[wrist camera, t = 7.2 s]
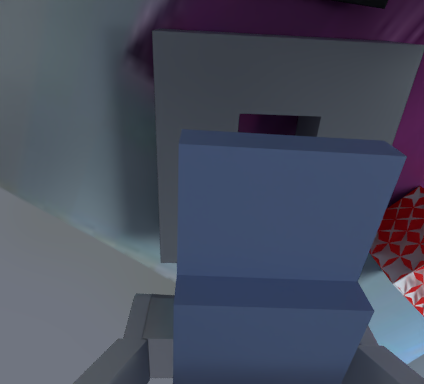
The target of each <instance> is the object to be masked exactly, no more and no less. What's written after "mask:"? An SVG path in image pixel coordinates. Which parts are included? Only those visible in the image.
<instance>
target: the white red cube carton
mask: <svg viewBox="0 0 424 384" xmlns="http://www.w3.org/2000/svg"><path fill="white" fill-rule="evenodd" d="M369 253H370V254H371V255H372V257H373V258H374V259H375V261H376V262H377V264H378V265H379V266H380V268H381V269H382V270H383V272H384V273H385V274H386V276H387V277H388V278H389V280H390V281H391V282H392V284H393V285H394V286H395V287H396V288H397V289H398V290H399V291H400V292H401V293H402V294H403V295H404V296H405V297H406V298H407V300H408V301H409V302H410V303H411V304H412V305H413V306H414V307H415V308H416V309H417V310H418V311H419V312H420V313H421V314H422V315H423V316H424V188H422V187H421V186H419V187H417V188H416V189H414V190H413V191H412V192H410V193H409V194H407V195H406V196H404V197H403V198H402V199H400V200H399V201H397V202H396V203H394V204H393V205H391V206H390V207H389V208H387V209H386V211H385V213H384V216H383V218H382V221H381V223H380V226H379V228H378V231H377V234H376V236H375V239H374V241H373V244H372V246H371V249H370V251H369Z"/></svg>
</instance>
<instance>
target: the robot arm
mask: <svg viewBox="0 0 424 384" xmlns="http://www.w3.org/2000/svg"><path fill="white" fill-rule="evenodd" d="M174 297H175V295H158V294H136V295H135V296H134V299H133V303H132V307H131V310H130V315H129V318H128V322H127V326H126V330H125V334H124V337H123V339H118V340H116V342H115V343H113V344H112V345H111V346H110V347H109V348H108V349H107V351H106V352H104V353H103V354H102V355H101V357H99V359H97V360H96V361H95V362H94V363H93V364H92V365H91V366H90V367H89V368H88V369H87V370H86V371H85V372H84V373H83V374H82V375H81V376H80V377H79V378H78V379H77V380H76V381H75V382H74V383H73V384H147V383H148V382H149V380H150V378H173V319H174ZM341 384H424V378H423V377H421V376H420V375H419V374H418V373H416V372H415V371H414V370H412V369H411V368H410V367H409V366H408V365H406V364H405V363H404V362H403V361H402V360H400V359H399V358H398V357H397V356H395V355H394V354H393V353H392V352H390V351H389V350H388V349H387V348H385V347H384V346H379V345H378V343H377V341H376V339H375V338H374V336H373V334H372V332H371V330H370V328H369V326H367V328H366V330H365V333H364V335H363V337H362V339H361V341H360V343H359V346H358V348H357V350H356V352H355V354H354V357H353V359H352V361H351V363H350V365H349V367H348V370H347V372H346V374H345V376H344V378H343V381H342V383H341Z"/></svg>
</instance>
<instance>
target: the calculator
mask: <svg viewBox="0 0 424 384" xmlns="http://www.w3.org/2000/svg"><path fill="white" fill-rule="evenodd" d="M333 1H339V2H345V3H351V4H357V5H364V6H370V7H376V8H382V9H385V7H386V4H387V2H388V0H333Z"/></svg>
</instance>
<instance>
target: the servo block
mask: <svg viewBox="0 0 424 384" xmlns="http://www.w3.org/2000/svg"><path fill="white" fill-rule="evenodd" d="M406 158H407V156H405V155H404V154H403V153H401V152H400V151H398V150H397V149H395V148H394V147H393V146H391V145H390V144H388V143H387V142H385V141H380V140H363V139H345V138H328V137H310V136H293V135H275V134H258V133H240V132H223V131H206V130H188V129H182V131H181V136H180V140H179V161H178V235H177V279H176V288H175V297H174V319H173V384H341V383H342V381H343V378H344V376H345V374H346V372H347V370H348V367H349V365H350V363H351V361H352V359H353V357H354V354H355V352H356V350H357V348H358V346H359V343H360V341H361V339H362V337H363V335H364V333H365V330H366V328H367V326H368V324H369V322H370V319H371V317H372V315H373V313H374V310H373V308H372V306H371V304H370V303H369V301H368V299H367V297H366V296H365V294H364V292H363V290H362V289H361V287H360V285H359V283H358V279H359V277H360V274H361V272H362V269H363V266H364V264H365V261H366V259H367V256H368V254H369V251H370V249H371V246H372V244H373V241H374V239H375V236H376V234H377V231H378V228H379V226H380V223H381V221H382V218H383V216H384V213H385V211H386V208H387V206H388V203H389V201H390V198H391V196H392V193H393V190H394V188H395V185H396V183H397V180H398V178H399V175H400V173H401V170H402V168H403V165H404V163H405V160H406Z"/></svg>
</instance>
